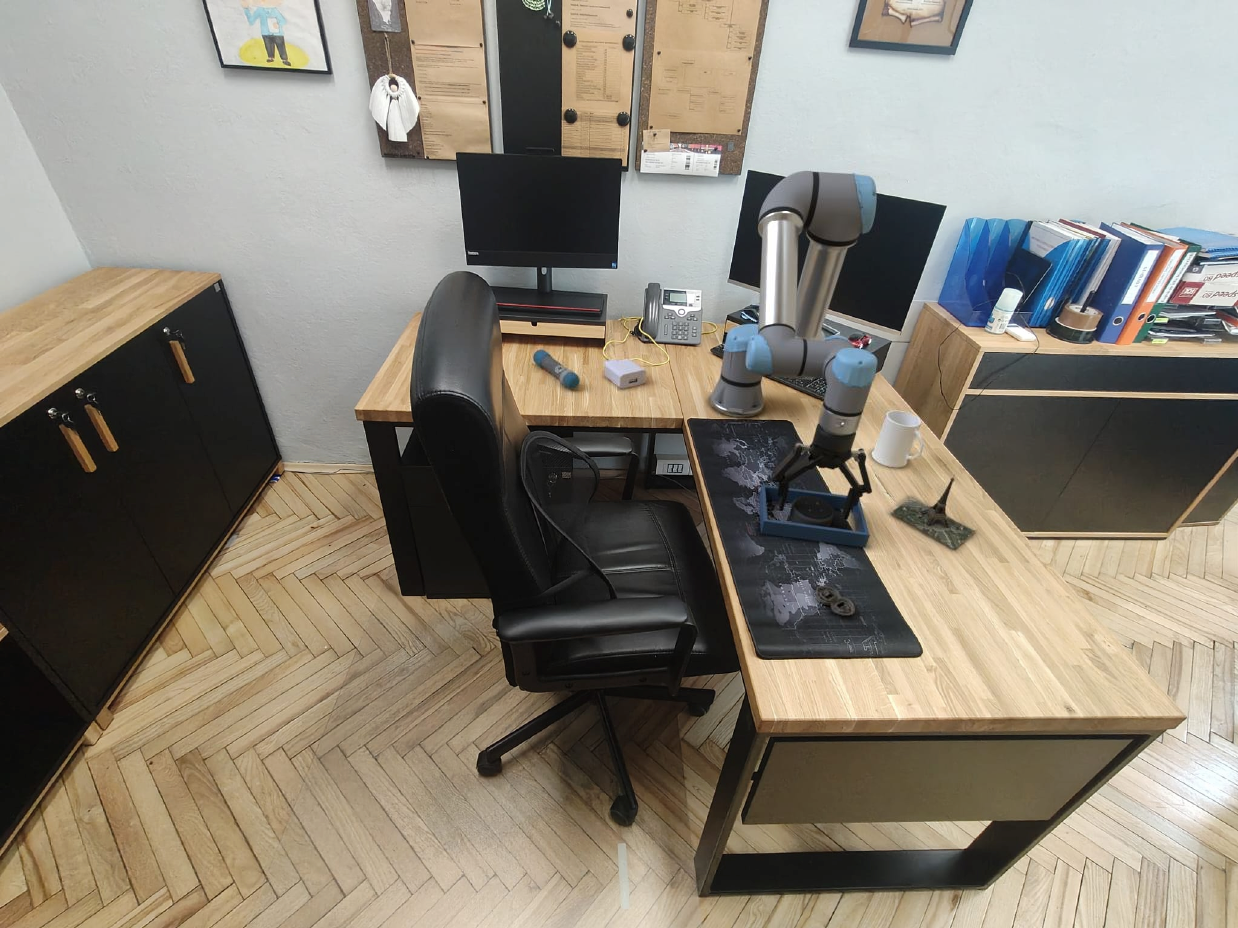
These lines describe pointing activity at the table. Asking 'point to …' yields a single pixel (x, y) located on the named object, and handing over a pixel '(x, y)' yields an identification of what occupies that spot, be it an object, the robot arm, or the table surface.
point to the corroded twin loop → (835, 600)
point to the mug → (897, 439)
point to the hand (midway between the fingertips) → (812, 511)
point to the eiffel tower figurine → (934, 520)
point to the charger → (624, 373)
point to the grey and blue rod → (556, 369)
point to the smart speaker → (811, 511)
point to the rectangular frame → (811, 531)
